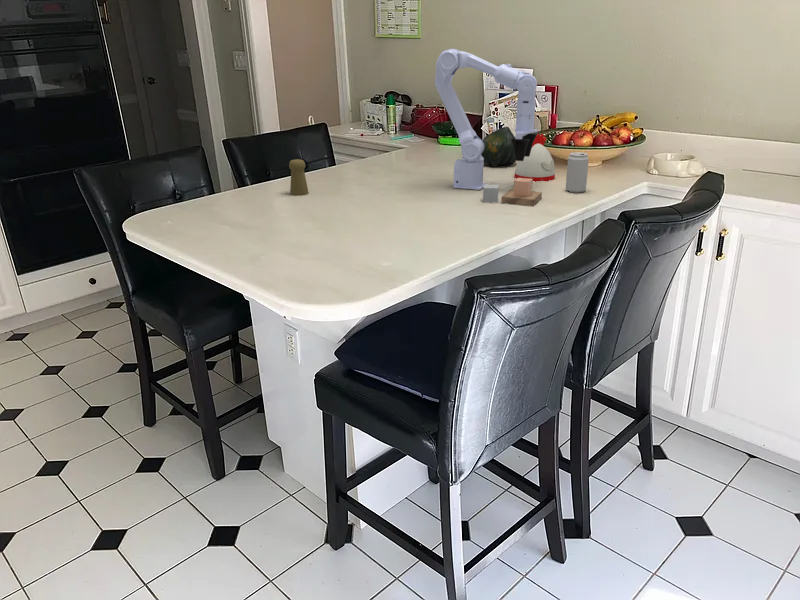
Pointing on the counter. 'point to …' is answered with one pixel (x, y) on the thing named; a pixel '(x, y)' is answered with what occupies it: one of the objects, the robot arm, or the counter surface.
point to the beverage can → (577, 172)
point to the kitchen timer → (537, 163)
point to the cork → (298, 178)
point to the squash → (499, 148)
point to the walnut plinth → (521, 198)
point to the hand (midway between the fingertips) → (523, 158)
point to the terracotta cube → (523, 187)
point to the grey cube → (490, 193)
